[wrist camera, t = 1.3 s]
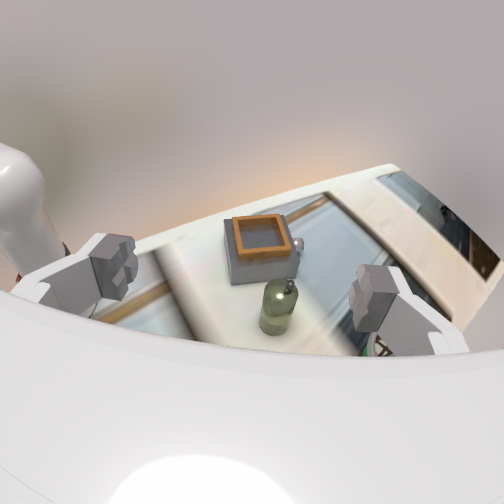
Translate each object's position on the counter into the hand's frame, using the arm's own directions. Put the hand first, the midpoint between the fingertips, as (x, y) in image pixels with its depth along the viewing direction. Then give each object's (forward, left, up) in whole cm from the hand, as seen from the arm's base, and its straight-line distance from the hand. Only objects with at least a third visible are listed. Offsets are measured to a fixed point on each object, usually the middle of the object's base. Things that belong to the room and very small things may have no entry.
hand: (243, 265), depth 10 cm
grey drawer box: (+11, +35, -42) cm, 56 cm away
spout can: (+10, +18, -42) cm, 47 cm away
